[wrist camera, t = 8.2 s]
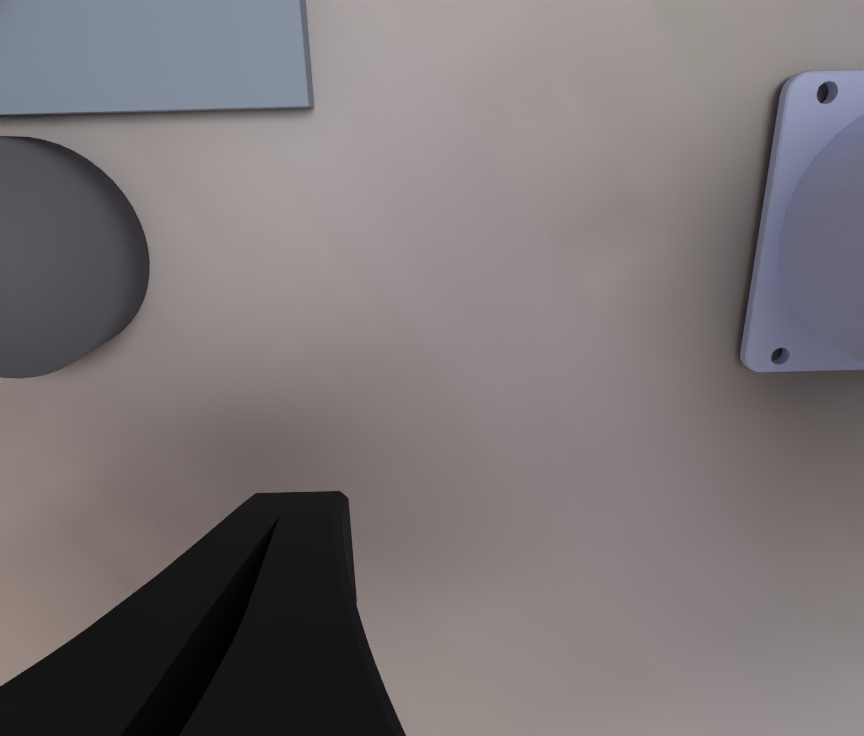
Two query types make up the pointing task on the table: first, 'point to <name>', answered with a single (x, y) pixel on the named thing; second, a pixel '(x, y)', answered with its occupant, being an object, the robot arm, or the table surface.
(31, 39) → the board
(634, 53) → the table surface
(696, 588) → the table surface
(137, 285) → the dark gray cylinder
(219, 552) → the robot arm
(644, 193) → the table surface
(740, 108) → the table surface
